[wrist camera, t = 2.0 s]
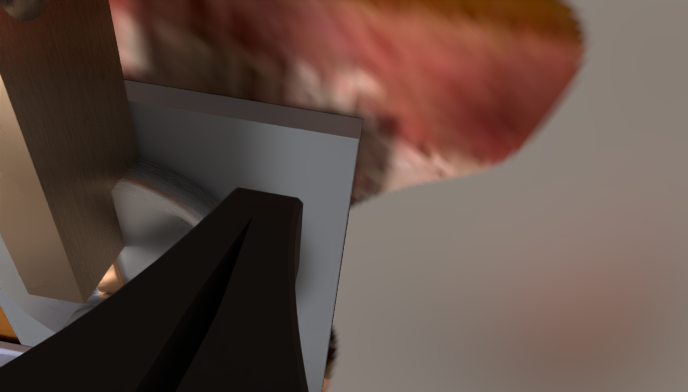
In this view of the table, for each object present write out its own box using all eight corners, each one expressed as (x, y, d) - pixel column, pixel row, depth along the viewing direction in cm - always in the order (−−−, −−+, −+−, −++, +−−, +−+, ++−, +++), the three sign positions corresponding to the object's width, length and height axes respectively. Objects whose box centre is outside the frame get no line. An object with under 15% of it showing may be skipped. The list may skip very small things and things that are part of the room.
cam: (259, 347, 18) (229, 442, 15) (51, 308, 18) (-14, 395, 16) (256, -88, 9) (183, -43, 6) (-148, -148, 9) (-381, -129, 7)
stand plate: (323, 379, 21) (319, 403, 20) (36, 325, 22) (20, 346, 21) (363, 119, 13) (358, 141, 12) (-102, 42, 14) (-138, 58, 13)
